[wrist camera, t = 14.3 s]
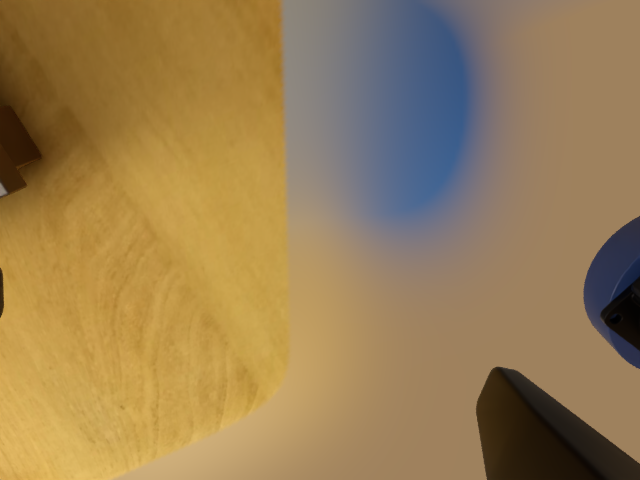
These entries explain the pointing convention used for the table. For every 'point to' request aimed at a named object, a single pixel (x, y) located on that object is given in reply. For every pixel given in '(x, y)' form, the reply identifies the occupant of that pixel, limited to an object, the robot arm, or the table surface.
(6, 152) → the wooden wall shelf
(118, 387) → the table surface
